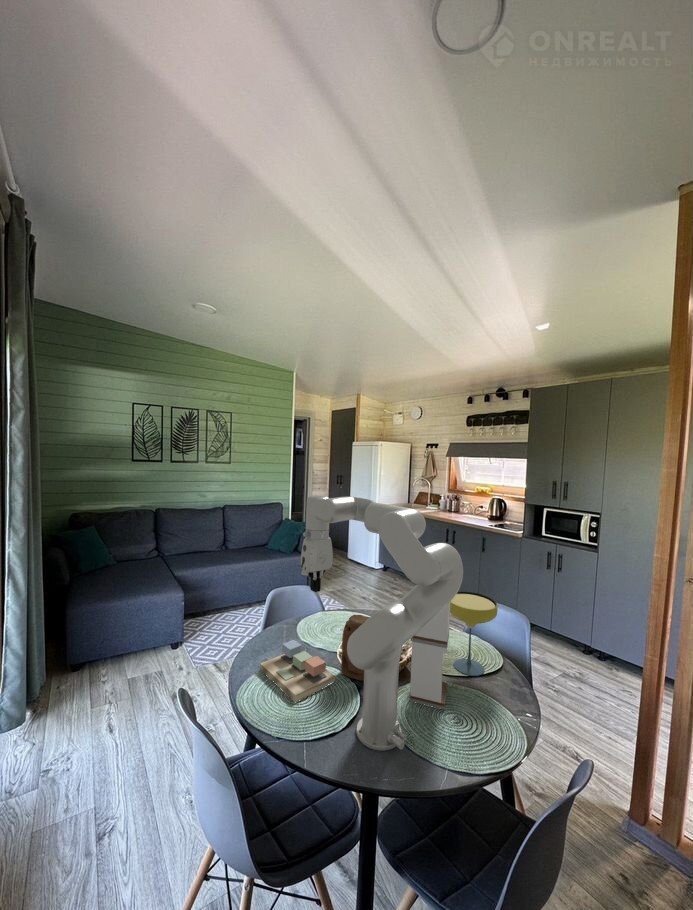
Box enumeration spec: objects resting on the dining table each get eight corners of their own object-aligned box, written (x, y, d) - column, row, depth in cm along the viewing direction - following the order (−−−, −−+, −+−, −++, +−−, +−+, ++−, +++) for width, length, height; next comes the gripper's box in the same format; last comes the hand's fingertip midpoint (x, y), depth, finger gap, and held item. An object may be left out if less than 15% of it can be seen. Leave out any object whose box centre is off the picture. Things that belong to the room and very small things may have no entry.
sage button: (312, 665, 130) (313, 656, 130) (301, 670, 126) (301, 661, 126) (304, 659, 134) (304, 650, 134) (292, 664, 130) (293, 655, 130)
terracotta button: (325, 671, 125) (325, 662, 125) (313, 676, 121) (313, 667, 121) (316, 664, 128) (316, 655, 128) (304, 669, 125) (304, 660, 125)
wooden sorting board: (334, 683, 126) (335, 674, 125) (295, 703, 115) (295, 693, 115) (297, 655, 142) (297, 647, 142) (259, 670, 131) (260, 662, 131)
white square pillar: (444, 710, 114) (448, 596, 114) (409, 701, 117) (414, 591, 117) (446, 688, 125) (451, 584, 125) (415, 681, 128) (419, 580, 128)
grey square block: (301, 653, 135) (301, 645, 135) (289, 658, 132) (290, 649, 132) (293, 647, 139) (293, 639, 139) (282, 652, 135) (282, 643, 135)
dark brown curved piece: (373, 672, 133) (375, 616, 133) (368, 684, 126) (370, 625, 126) (344, 665, 136) (346, 611, 136) (338, 677, 129) (340, 619, 129)
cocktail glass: (491, 658, 144) (494, 594, 144) (498, 686, 127) (501, 613, 127) (443, 651, 149) (445, 588, 149) (444, 677, 131) (446, 606, 131)
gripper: (305, 539, 112) (303, 599, 112) (342, 533, 122) (340, 589, 122) (291, 534, 118) (289, 592, 118) (327, 529, 128) (325, 582, 128)
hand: (315, 590), depth 120 cm, fingers closed
